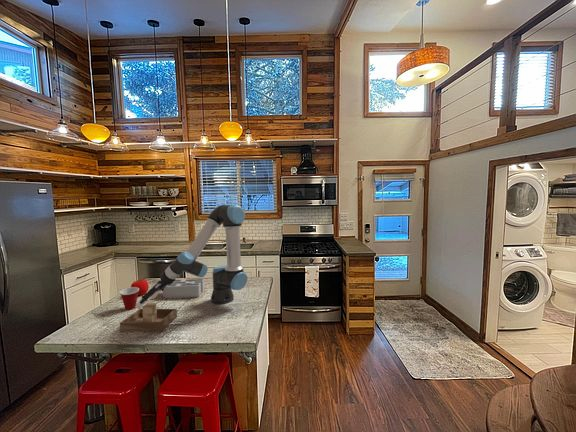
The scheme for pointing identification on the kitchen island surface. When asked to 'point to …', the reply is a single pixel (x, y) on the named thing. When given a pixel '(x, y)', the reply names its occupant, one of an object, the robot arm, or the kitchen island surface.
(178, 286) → the grey compartment tray
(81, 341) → the kitchen island surface
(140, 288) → the tomato
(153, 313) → the oak peg
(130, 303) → the plastic cup
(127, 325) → the walnut crate
